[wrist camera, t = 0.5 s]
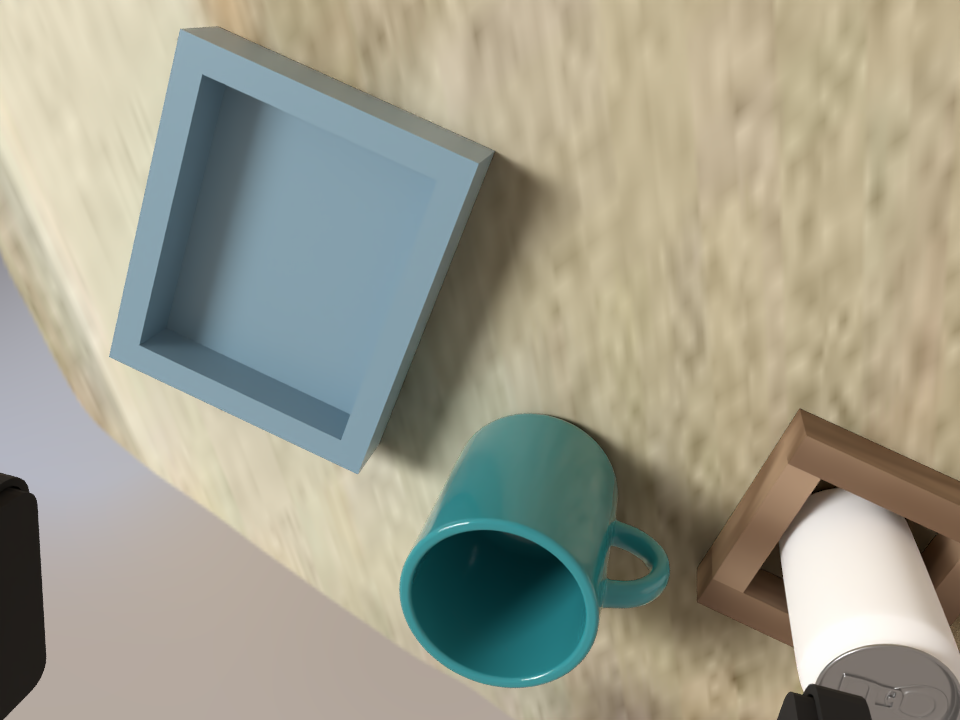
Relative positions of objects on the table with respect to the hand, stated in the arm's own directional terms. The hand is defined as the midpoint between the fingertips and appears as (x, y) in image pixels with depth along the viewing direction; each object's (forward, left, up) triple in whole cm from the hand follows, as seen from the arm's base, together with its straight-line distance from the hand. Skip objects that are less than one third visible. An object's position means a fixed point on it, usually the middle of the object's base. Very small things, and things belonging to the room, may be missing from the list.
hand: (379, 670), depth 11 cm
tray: (+11, -13, -35) cm, 38 cm away
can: (+13, +19, -35) cm, 41 cm away
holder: (+13, +19, -35) cm, 41 cm away
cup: (+17, +5, -35) cm, 39 cm away
